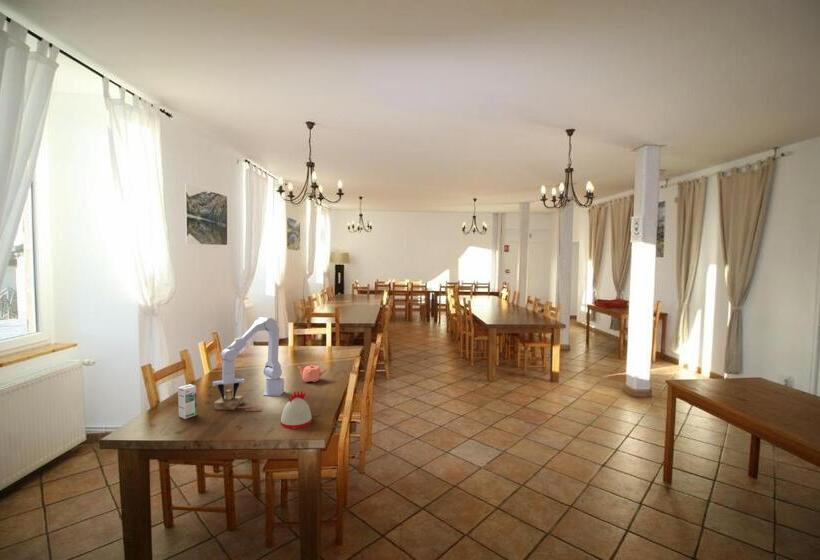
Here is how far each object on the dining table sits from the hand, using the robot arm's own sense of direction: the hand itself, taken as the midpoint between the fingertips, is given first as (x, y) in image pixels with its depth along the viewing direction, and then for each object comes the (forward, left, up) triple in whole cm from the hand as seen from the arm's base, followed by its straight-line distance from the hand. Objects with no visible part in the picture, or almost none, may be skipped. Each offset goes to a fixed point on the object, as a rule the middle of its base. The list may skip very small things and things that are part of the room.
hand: (228, 398), depth 200 cm
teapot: (-30, -44, -4) cm, 53 cm away
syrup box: (+13, +14, -4) cm, 20 cm away
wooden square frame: (0, 0, -4) cm, 4 cm away
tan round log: (0, 0, -4) cm, 4 cm away
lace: (-11, +4, -4) cm, 12 cm away
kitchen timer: (-41, +17, -4) cm, 45 cm away
